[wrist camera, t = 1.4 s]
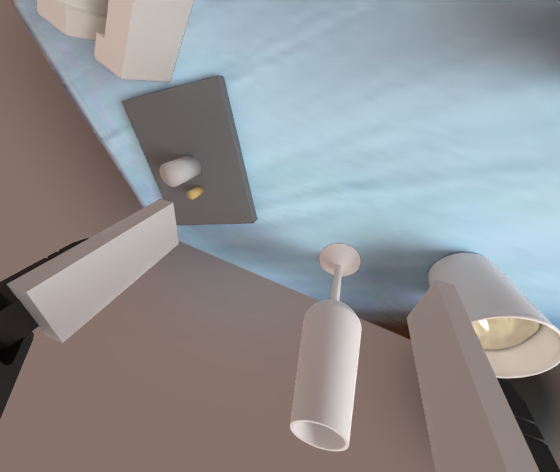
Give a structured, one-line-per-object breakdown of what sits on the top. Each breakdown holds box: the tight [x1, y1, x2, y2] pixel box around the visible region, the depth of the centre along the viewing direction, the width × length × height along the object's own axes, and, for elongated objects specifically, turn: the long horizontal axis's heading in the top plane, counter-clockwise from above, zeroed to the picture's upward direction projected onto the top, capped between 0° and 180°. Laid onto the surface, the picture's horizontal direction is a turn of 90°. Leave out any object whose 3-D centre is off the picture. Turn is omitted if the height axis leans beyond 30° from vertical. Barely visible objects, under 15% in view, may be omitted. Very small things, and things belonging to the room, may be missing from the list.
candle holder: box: [428, 253, 560, 378], centre depth 29 cm, size 10×10×12 cm
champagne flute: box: [290, 244, 362, 451], centre depth 29 cm, size 7×7×24 cm
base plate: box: [122, 76, 257, 225], centre depth 34 cm, size 20×16×6 cm
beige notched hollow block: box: [37, 0, 194, 82], centre depth 25 cm, size 10×10×8 cm
